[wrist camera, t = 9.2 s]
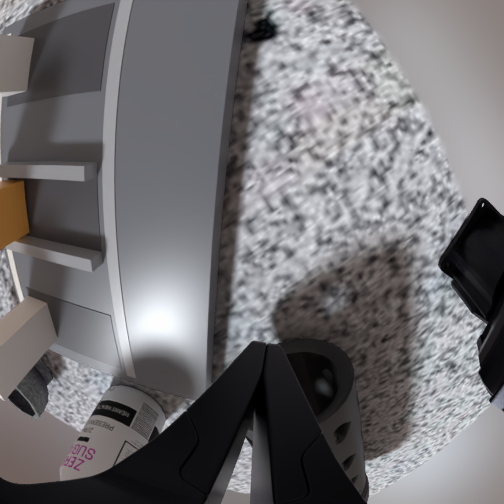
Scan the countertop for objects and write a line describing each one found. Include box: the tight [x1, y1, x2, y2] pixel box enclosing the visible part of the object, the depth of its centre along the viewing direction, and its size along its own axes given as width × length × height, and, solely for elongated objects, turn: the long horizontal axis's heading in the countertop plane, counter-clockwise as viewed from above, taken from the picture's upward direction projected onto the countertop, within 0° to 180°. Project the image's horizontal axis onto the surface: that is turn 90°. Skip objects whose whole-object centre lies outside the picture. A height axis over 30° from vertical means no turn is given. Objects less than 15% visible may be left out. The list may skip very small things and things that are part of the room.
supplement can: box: [60, 385, 166, 481], centre depth 25 cm, size 8×8×15 cm
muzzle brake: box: [246, 337, 369, 503], centre depth 24 cm, size 10×28×10 cm, turn 18°
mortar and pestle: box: [7, 359, 53, 420], centre depth 28 cm, size 11×9×12 cm
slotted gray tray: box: [0, 0, 248, 401], centre depth 16 cm, size 22×34×12 cm, turn 173°
